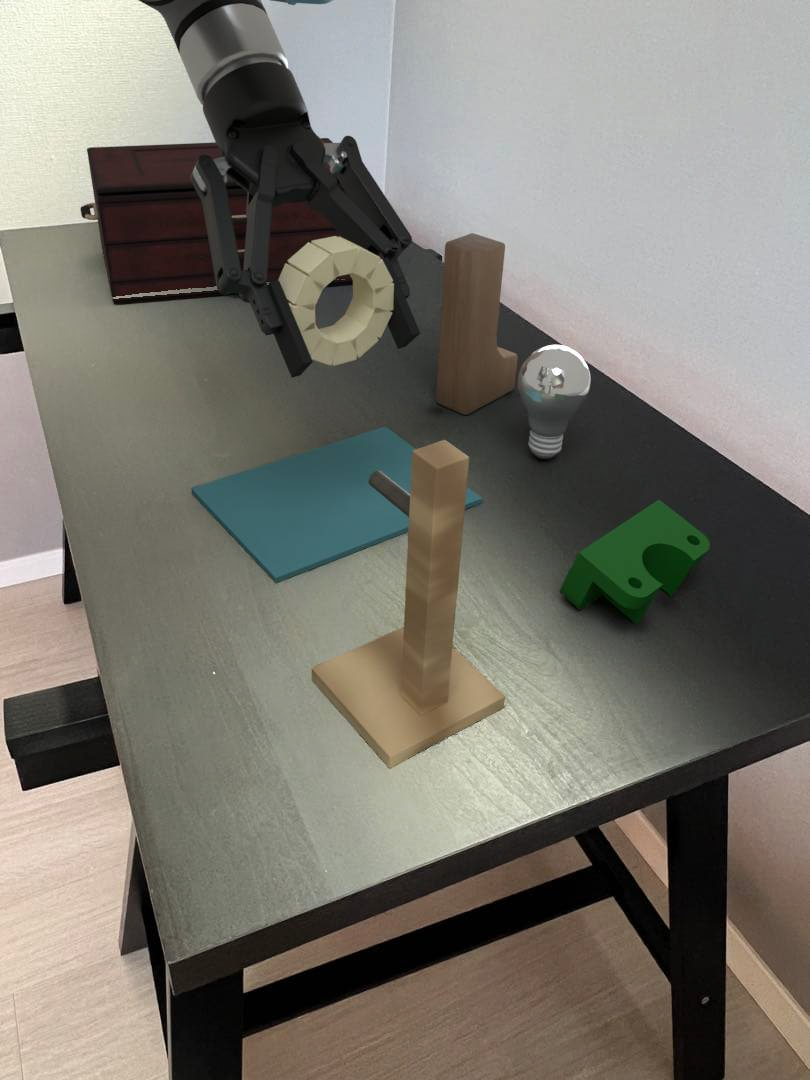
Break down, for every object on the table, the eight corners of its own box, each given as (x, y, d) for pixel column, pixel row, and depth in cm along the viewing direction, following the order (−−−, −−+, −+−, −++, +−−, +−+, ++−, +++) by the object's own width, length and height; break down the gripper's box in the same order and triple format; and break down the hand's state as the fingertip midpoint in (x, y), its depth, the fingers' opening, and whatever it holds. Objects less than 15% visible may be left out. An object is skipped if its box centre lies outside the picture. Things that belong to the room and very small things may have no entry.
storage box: (97, 313, 120) (78, 193, 112) (87, 252, 138) (69, 144, 129) (386, 288, 131) (389, 176, 122) (343, 234, 148) (343, 133, 140)
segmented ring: (295, 376, 72) (291, 260, 67) (276, 361, 74) (270, 248, 69) (392, 350, 76) (395, 239, 71) (371, 336, 78) (373, 228, 73)
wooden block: (484, 377, 110) (498, 221, 99) (515, 390, 108) (533, 232, 97) (433, 403, 104) (443, 241, 94) (465, 417, 102) (479, 253, 91)
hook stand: (389, 769, 63) (400, 504, 50) (311, 679, 69) (303, 425, 57) (504, 707, 68) (540, 452, 55) (421, 629, 74) (436, 385, 61)
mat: (275, 583, 78) (275, 577, 78) (191, 493, 88) (190, 487, 88) (482, 503, 89) (482, 497, 88) (385, 431, 99) (385, 426, 99)
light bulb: (551, 483, 92) (568, 371, 85) (494, 457, 96) (506, 347, 88) (591, 457, 96) (610, 348, 89) (535, 433, 100) (550, 326, 93)
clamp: (609, 661, 78) (622, 618, 70) (556, 613, 81) (562, 566, 73) (705, 569, 81) (727, 518, 73) (651, 525, 84) (667, 471, 76)
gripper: (346, 104, 82) (446, 343, 81) (102, 133, 71) (215, 407, 70) (382, 46, 75) (492, 305, 74) (119, 68, 65) (243, 369, 64)
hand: (357, 354), depth 72 cm, fingers closed on segmented ring, 9 cm apart
